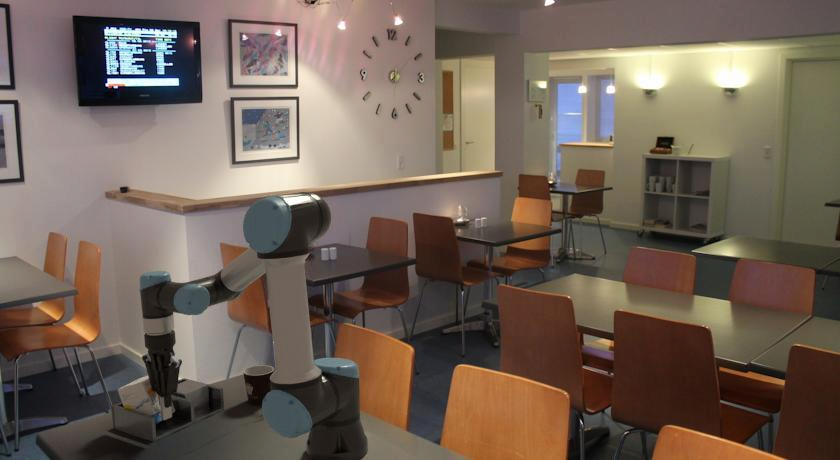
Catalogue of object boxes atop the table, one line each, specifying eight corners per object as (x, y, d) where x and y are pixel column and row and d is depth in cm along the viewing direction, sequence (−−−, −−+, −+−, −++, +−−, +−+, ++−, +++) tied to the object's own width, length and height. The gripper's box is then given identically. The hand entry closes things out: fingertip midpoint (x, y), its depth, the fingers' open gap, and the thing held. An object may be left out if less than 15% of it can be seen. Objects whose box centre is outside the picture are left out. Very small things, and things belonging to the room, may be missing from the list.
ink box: (157, 423, 190) (141, 381, 189) (132, 431, 193) (115, 389, 192) (176, 410, 198) (161, 370, 198) (151, 418, 201) (136, 378, 200)
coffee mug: (242, 400, 215) (240, 367, 213) (271, 395, 218) (269, 363, 217) (250, 415, 204) (248, 380, 203) (281, 409, 208) (279, 375, 206)
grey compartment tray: (224, 412, 206) (222, 386, 205) (153, 444, 186) (151, 416, 185) (184, 400, 215) (183, 376, 214) (112, 431, 195) (110, 403, 194)
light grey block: (209, 408, 207) (207, 384, 206) (186, 418, 200) (185, 394, 199) (189, 403, 211) (188, 379, 210) (167, 412, 204) (165, 388, 203)
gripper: (187, 330, 189) (194, 417, 193) (155, 324, 196) (162, 409, 199) (164, 338, 183) (171, 428, 186) (131, 332, 189) (139, 419, 193)
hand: (166, 418), depth 193 cm, fingers closed
